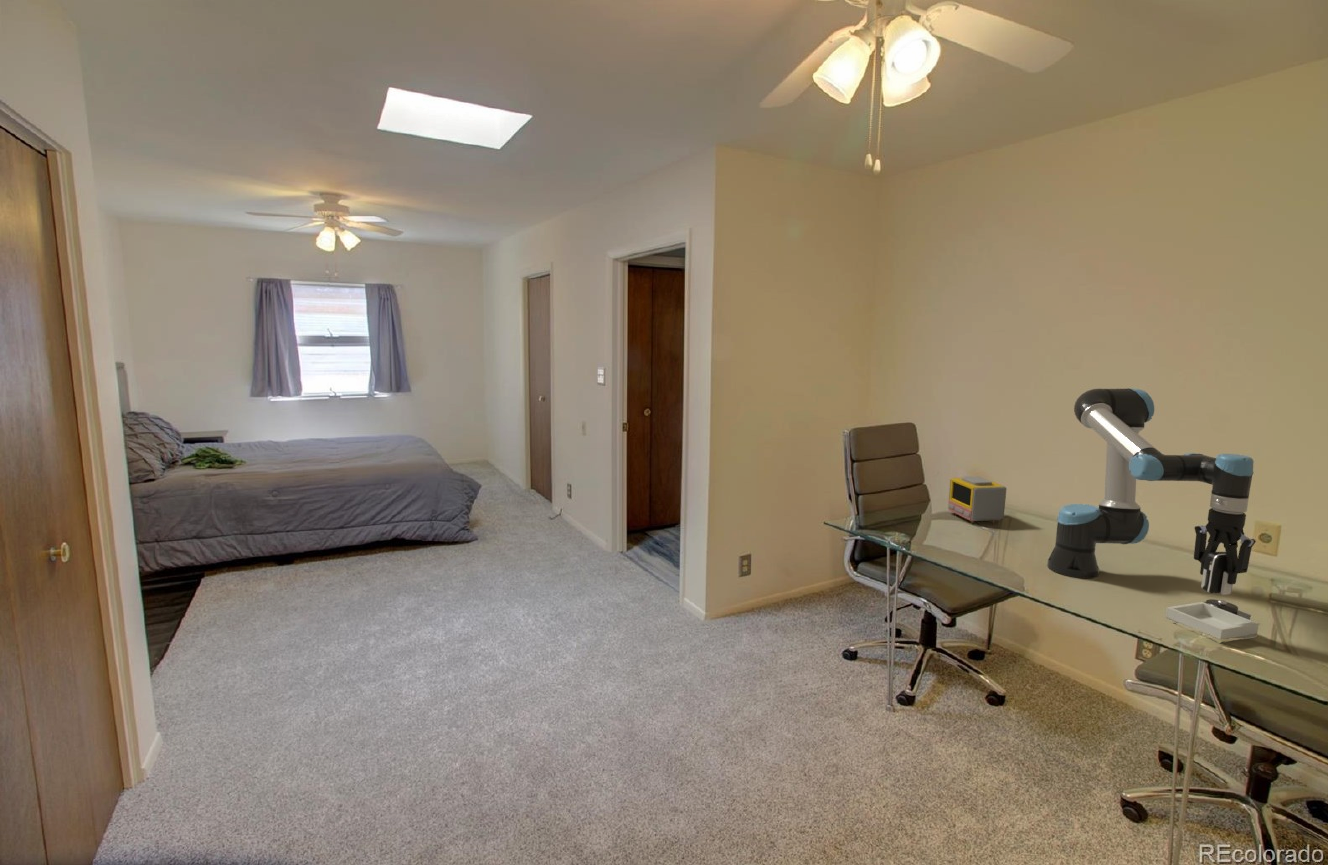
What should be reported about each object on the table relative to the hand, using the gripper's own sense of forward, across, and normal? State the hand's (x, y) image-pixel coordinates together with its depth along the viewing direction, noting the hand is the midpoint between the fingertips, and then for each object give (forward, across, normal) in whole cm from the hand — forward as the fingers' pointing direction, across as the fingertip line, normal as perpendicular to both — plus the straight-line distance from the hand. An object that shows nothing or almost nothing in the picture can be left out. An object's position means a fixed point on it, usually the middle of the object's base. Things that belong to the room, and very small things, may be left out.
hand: (1215, 590), depth 168 cm
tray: (+12, 0, 0) cm, 12 cm away
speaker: (+12, -5, +12) cm, 18 cm away
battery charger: (0, 0, 0) cm, 1 cm away
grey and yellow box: (+11, -104, +13) cm, 106 cm away
